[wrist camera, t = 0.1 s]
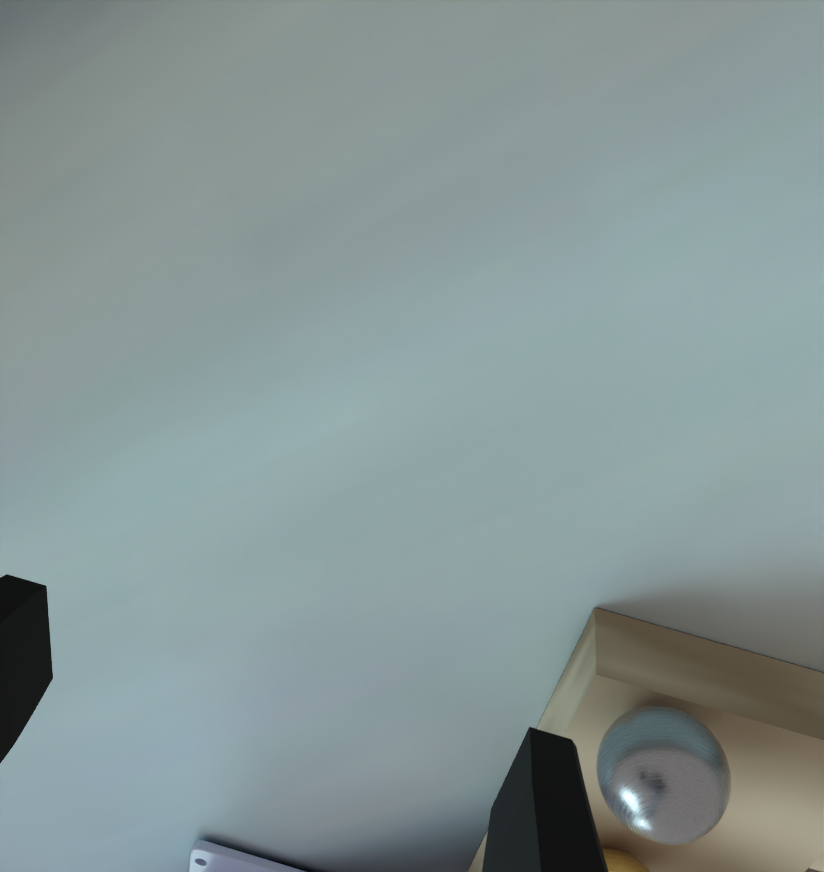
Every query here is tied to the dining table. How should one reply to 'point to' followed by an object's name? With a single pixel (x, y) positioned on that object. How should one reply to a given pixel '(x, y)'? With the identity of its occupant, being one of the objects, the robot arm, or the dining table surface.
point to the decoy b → (663, 774)
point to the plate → (726, 718)
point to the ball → (622, 861)
